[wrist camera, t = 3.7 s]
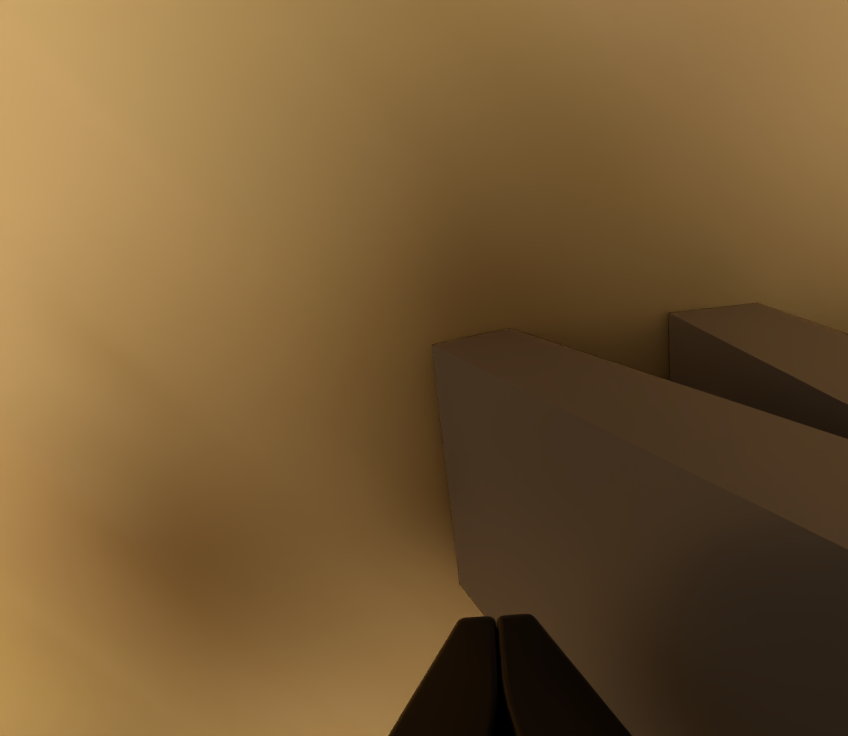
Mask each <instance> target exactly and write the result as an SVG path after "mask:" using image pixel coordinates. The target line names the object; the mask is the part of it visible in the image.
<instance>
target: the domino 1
mask: <svg viewBox="0 0 848 736" xmlns="http://www.w3.org/2000/svg"><path fill="white" fill-rule="evenodd" d="M431 346H432V355H433V363H434V372H435V380H436V389H437V397H438V406H439V414H440V423H441V431H442V440H443V448H444V457H445V465H446V473H447V482H448V490H449V499H450V507H451V516H452V524H453V533H454V541H455V550H456V558H457V567H458V575H459V584H460V585H461V587H462V588H463V589H464V590H465V592H466V593H467V594H468V596H469V597H470V598H471V599H472V601H473V602H474V603H475V605H476V606H477V607H478V608H479V610H480V611H481V612H482V614H483V615H484V616H491V617H493V618H494V619H495V621H496V623H497V619H498V617H499V616H502V615H513V614H531V615H533V616H534V617H535V618H536V619H537V620H538V621H539V623H540V624H541V625H542V626H543V628H544V629H545V630H546V631H547V632H548V634H549V635H550V636H551V637H552V639H553V640H554V641H555V642H556V643H557V645H558V646H559V647H560V648H561V650H562V651H563V652H564V653H565V654H566V656H567V657H568V658H569V659H570V660H571V662H572V663H573V664H574V665H575V667H576V668H577V669H578V670H579V671H580V673H581V674H582V675H583V676H584V678H585V679H586V680H587V681H588V682H589V684H590V685H591V686H592V687H593V689H594V690H595V691H596V692H597V693H598V695H599V696H600V697H601V698H602V700H603V701H604V702H605V703H606V704H607V706H608V707H609V708H610V709H611V710H612V712H613V713H614V714H615V715H616V717H617V718H618V719H619V720H620V721H621V723H622V724H623V725H624V726H625V728H626V729H627V730H628V731H629V732H630V734H631V735H632V736H848V439H846V438H843V437H840V436H837V435H834V434H831V433H828V432H825V431H822V430H819V429H816V428H813V427H809V426H806V425H803V424H800V423H797V422H794V421H791V420H788V419H785V418H782V417H779V416H776V415H773V414H770V413H767V412H764V411H761V410H758V409H755V408H751V407H748V406H745V405H742V404H739V403H736V402H733V401H730V400H727V399H724V398H721V397H718V396H715V395H712V394H709V393H706V392H703V391H700V390H697V389H693V388H690V387H687V386H684V385H681V384H678V383H675V382H672V381H669V380H666V379H663V378H660V377H657V376H654V375H651V374H648V373H645V372H642V371H638V370H635V369H632V368H629V367H626V366H623V365H620V364H617V363H614V362H611V361H608V360H605V359H602V358H599V357H596V356H593V355H590V354H587V353H584V352H580V351H577V350H574V349H571V348H568V347H565V346H562V345H559V344H556V343H553V342H550V341H547V340H544V339H541V338H538V337H535V336H532V335H529V334H526V333H522V332H519V331H516V330H513V329H510V328H509V329H504V330H499V331H495V332H490V333H485V334H480V335H475V336H470V337H466V338H461V339H456V340H451V341H446V342H442V343H437V344H432V345H431ZM496 626H497V624H496Z"/></svg>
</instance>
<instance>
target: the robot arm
mask: <svg viewBox="0 0 848 736" xmlns="http://www.w3.org/2000/svg"><path fill="white" fill-rule="evenodd" d="M496 624H497V626H496ZM388 736H632V735H631V734H630V732H629V731H628V730H627V729H626V728H625V726H624V725H623V724H622V723H621V721H620V720H619V719H618V718H617V717H616V715H615V714H614V713H613V712H612V710H611V709H610V708H609V707H608V706H607V704H606V703H605V702H604V701H603V700H602V698H601V697H600V696H599V695H598V693H597V692H596V691H595V690H594V689H593V687H592V686H591V685H590V684H589V682H588V681H587V680H586V679H585V678H584V676H583V675H582V674H581V673H580V671H579V670H578V669H577V668H576V667H575V665H574V664H573V663H572V662H571V660H570V659H569V658H568V657H567V656H566V654H565V653H564V652H563V651H562V650H561V648H560V647H559V646H558V645H557V643H556V642H555V641H554V640H553V639H552V637H551V636H550V635H549V634H548V632H547V631H546V630H545V629H544V628H543V626H542V625H541V624H540V623H539V621H538V620H537V619H536V618H535V617H534V616H533V615H531V614H513V615H502V616H499V617H498V619H497V623H496V621H495V619H494V618H493V617H491V616H484V617H469V618H462V619H460V620H459V621H458V622H457V623H456V625H455V627H454V628H453V630H452V632H451V633H450V635H449V637H448V638H447V640H446V642H445V643H444V645H443V646H442V648H441V650H440V651H439V653H438V655H437V656H436V658H435V660H434V661H433V663H432V665H431V666H430V668H429V670H428V671H427V673H426V674H425V676H424V678H423V679H422V681H421V683H420V684H419V686H418V688H417V689H416V691H415V693H414V694H413V696H412V698H411V699H410V701H409V702H408V704H407V706H406V707H405V709H404V711H403V712H402V714H401V716H400V717H399V719H398V721H397V722H396V724H395V725H394V727H393V729H392V730H391V732H390V734H389V735H388Z"/></svg>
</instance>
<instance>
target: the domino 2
mask: <svg viewBox="0 0 848 736" xmlns="http://www.w3.org/2000/svg"><path fill="white" fill-rule="evenodd" d="M669 346H670V381H672V382H675V383H678V384H681V385H684V386H687V387H690V388H693V389H697V390H700V391H703V392H706V393H709V394H712V395H715V396H718V397H721V398H724V399H727V400H730V401H733V402H736V403H739V404H742V405H745V406H748V407H751V408H755V409H758V410H761V411H764V412H767V413H770V414H773V415H776V416H779V417H782V418H785V419H788V420H791V421H794V422H797V423H800V424H803V425H806V426H809V427H813V428H816V429H819V430H822V431H825V432H828V433H831V434H834V435H837V436H840V437H843V438H846V439H848V334H846V333H843V332H840V331H837V330H834V329H832V328H829V327H826V326H823V325H820V324H817V323H814V322H811V321H808V320H806V319H803V318H800V317H797V316H794V315H791V314H788V313H785V312H782V311H780V310H777V309H774V308H771V307H768V306H765V305H762V304H759V303H752V304H743V305H734V306H726V307H717V308H708V309H700V310H691V311H682V312H673V313H669Z"/></svg>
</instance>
